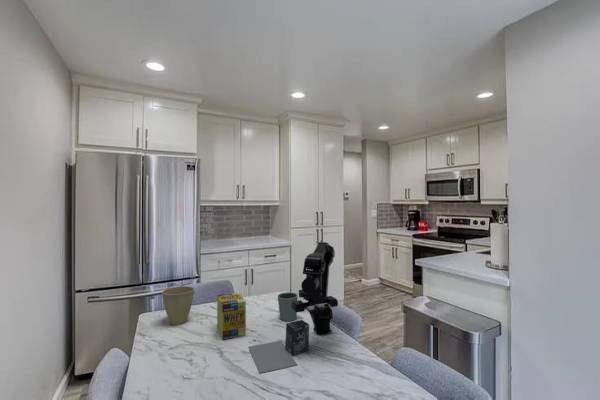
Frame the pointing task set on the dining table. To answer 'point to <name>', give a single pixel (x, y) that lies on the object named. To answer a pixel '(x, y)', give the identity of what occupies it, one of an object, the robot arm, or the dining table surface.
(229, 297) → the protein box
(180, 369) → the dining table surface
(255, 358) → the mat
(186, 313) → the plant pot
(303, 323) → the box
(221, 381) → the dining table surface
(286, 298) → the drinking glass
